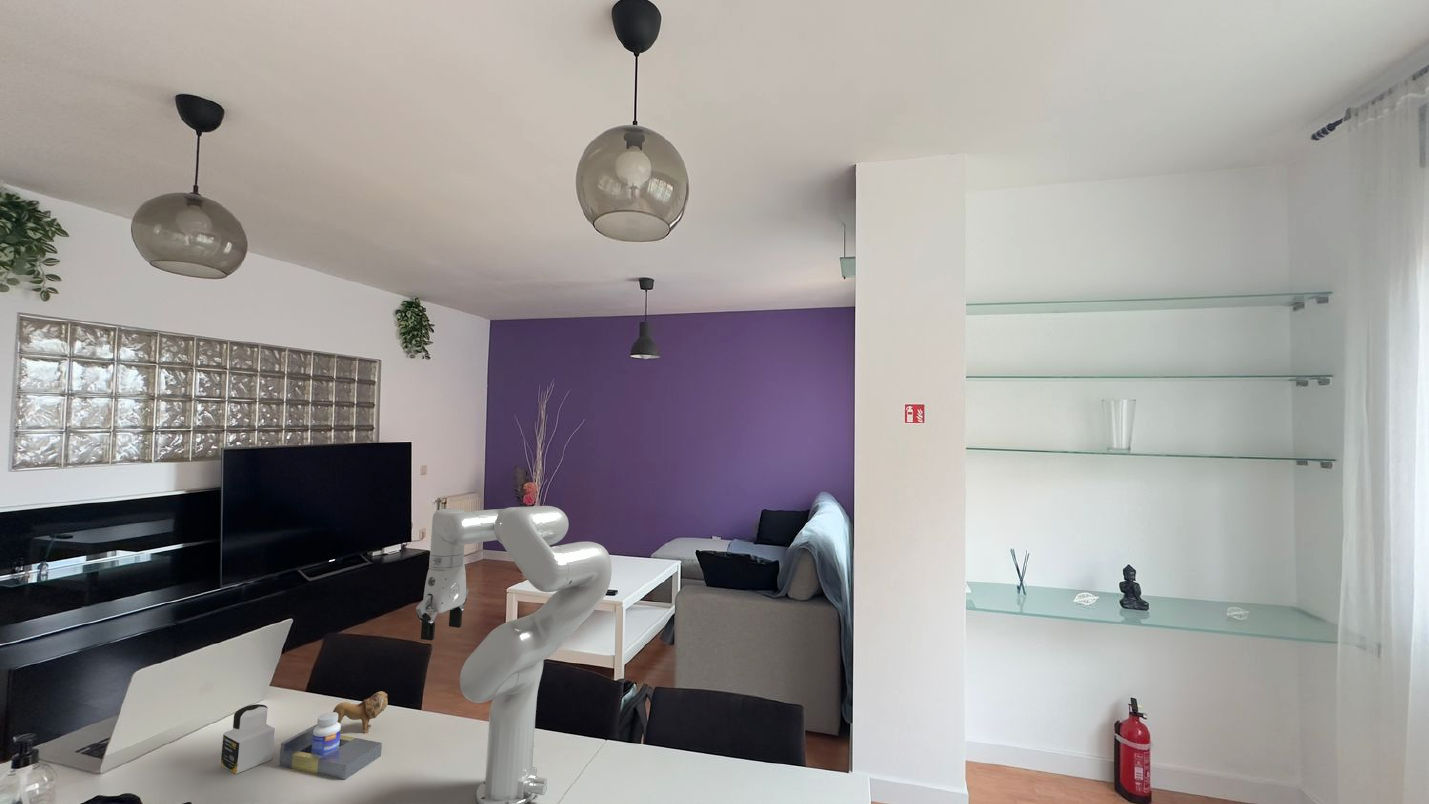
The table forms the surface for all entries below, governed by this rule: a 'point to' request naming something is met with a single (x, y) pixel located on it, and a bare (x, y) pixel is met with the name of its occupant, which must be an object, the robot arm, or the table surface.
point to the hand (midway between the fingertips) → (441, 633)
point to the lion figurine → (363, 709)
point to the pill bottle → (326, 734)
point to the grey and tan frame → (328, 755)
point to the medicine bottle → (248, 740)
